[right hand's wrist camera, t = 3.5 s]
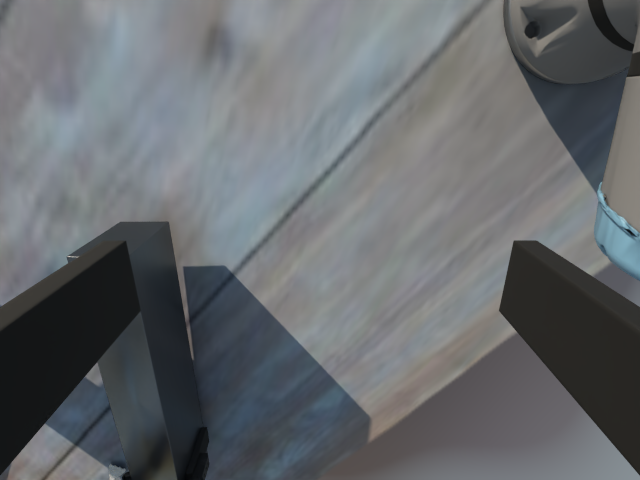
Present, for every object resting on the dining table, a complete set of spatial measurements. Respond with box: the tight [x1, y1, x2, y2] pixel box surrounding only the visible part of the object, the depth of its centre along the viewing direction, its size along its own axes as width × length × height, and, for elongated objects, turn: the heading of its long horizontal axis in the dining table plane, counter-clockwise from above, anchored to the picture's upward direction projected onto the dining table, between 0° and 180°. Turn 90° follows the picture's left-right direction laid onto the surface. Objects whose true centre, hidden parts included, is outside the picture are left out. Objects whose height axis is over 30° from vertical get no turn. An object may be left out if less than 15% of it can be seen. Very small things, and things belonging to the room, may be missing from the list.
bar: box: [67, 222, 207, 480], centre depth 41 cm, size 36×5×9 cm, turn 0°
